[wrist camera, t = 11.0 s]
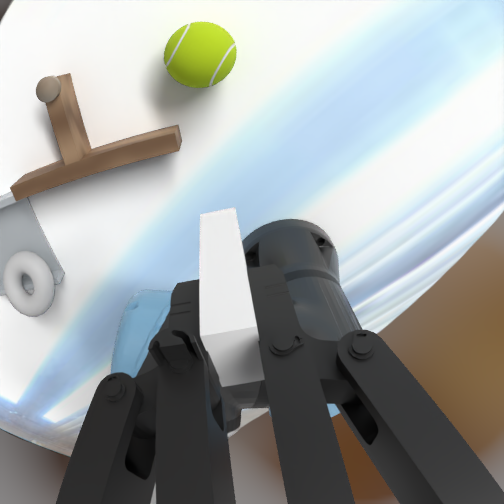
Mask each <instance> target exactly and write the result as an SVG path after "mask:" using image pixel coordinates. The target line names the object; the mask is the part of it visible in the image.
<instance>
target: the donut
mask: <svg viewBox="0 0 504 504" xmlns="http://www.w3.org/2000/svg"><path fill="white" fill-rule="evenodd" d="M24 273H26V274H28V275H29V276H30V278H31V279H32V282H33V285H34V292H33V294H32V295H30V294H28V293H27V292H26V291H25V289H24V287H23V284H22V276H23V274H24ZM3 284H4V289H5V293H6V295H7V297H8V300H9V301H10V303H11V304H12V306H13V307H14V308H15V309H16V310H17V311H19V312H20V313H21V314H24V315H26V316H29V317H37V316H39V315H41V314H43V313H45V312H46V311H47V310H48V308H49V307H50V306H51V304H52V301H53V298H54V290H55V285H54V279H53V275H52V273H51V270H50V268H49V266H48V265H47V264H46V262H45V261H44V259H42V258H41V257H40V256H39V255H37V254H36V253H34V252H31V251H19V252H17V253H16V254H14V255H13V256H11V257H10V259H9V260H8V262H7V263H6V265H5V269H4V272H3Z"/></svg>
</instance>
